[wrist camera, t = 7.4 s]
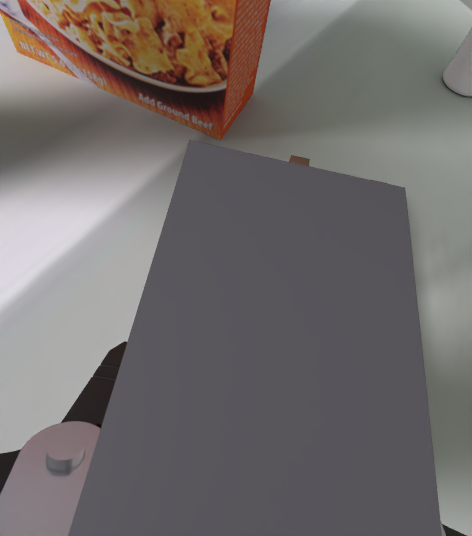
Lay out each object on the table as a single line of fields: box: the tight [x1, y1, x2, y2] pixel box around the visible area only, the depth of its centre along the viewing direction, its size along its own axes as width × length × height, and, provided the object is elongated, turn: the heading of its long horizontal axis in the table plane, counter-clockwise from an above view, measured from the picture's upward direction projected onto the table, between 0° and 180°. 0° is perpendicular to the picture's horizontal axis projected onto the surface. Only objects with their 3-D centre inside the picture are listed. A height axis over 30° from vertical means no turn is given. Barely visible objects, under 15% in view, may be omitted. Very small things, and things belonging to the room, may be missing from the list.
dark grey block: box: [68, 140, 442, 536], centre depth 8 cm, size 8×4×11 cm, turn 171°
